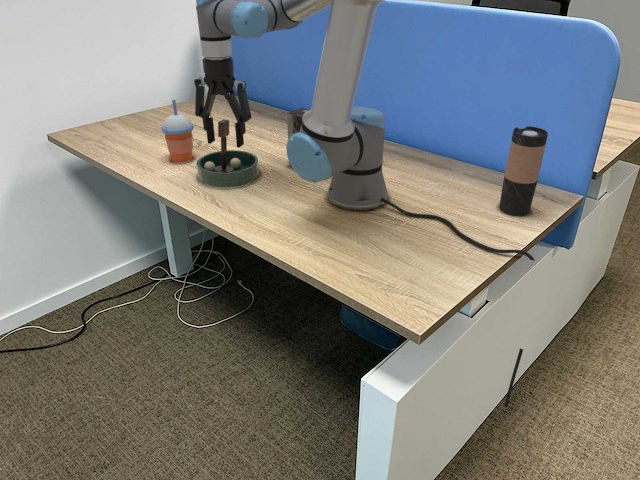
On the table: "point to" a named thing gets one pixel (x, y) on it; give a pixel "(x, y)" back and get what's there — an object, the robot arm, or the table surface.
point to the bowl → (229, 179)
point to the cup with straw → (178, 136)
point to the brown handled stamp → (223, 146)
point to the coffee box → (295, 121)
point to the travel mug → (522, 170)
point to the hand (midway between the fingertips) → (225, 143)
